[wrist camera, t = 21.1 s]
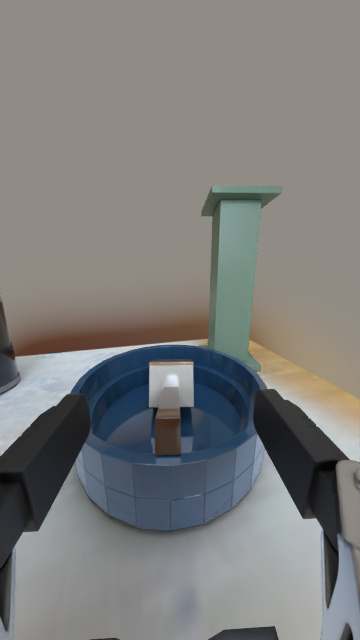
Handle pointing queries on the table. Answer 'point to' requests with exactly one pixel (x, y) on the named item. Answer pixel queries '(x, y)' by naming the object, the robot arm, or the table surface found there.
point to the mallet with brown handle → (170, 400)
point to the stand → (234, 265)
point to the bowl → (196, 440)
